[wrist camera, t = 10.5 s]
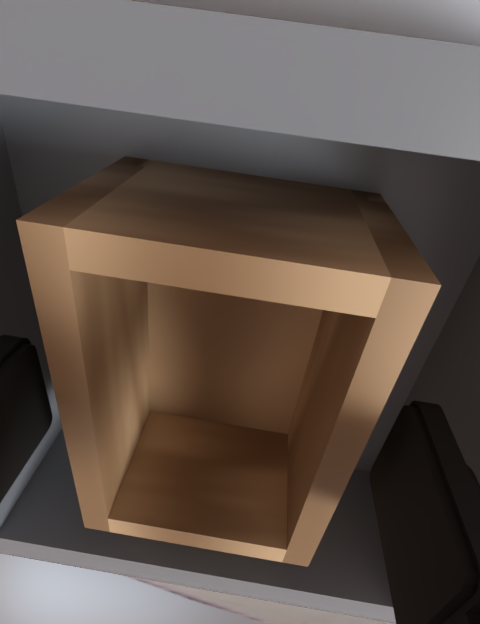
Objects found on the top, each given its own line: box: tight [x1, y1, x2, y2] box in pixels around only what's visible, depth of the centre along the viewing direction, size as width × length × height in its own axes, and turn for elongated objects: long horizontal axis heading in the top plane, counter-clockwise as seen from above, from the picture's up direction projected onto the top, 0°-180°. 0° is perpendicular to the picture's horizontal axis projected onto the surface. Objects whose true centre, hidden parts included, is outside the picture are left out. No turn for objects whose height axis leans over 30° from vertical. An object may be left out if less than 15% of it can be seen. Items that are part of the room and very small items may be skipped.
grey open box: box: [0, 0, 480, 623], centre depth 11 cm, size 16×16×6 cm
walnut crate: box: [16, 156, 442, 567], centre depth 11 cm, size 7×10×5 cm
